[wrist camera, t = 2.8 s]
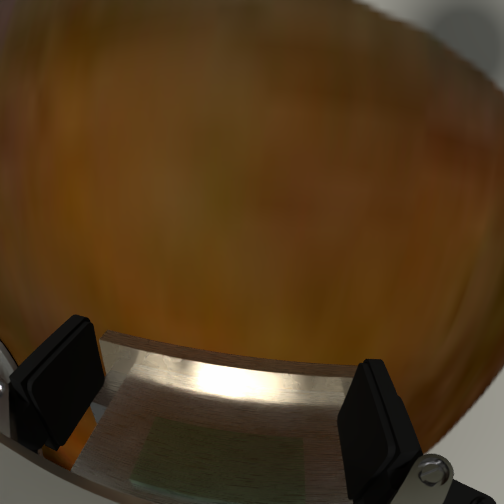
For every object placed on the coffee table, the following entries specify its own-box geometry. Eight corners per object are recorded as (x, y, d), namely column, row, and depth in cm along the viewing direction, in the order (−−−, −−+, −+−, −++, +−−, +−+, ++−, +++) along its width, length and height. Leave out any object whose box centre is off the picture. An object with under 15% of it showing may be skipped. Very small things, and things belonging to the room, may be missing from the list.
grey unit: (380, 366, 21) (432, 513, 8) (345, 440, 24) (361, 558, 11) (107, 329, 22) (12, 448, 9) (124, 409, 25) (70, 513, 12)
